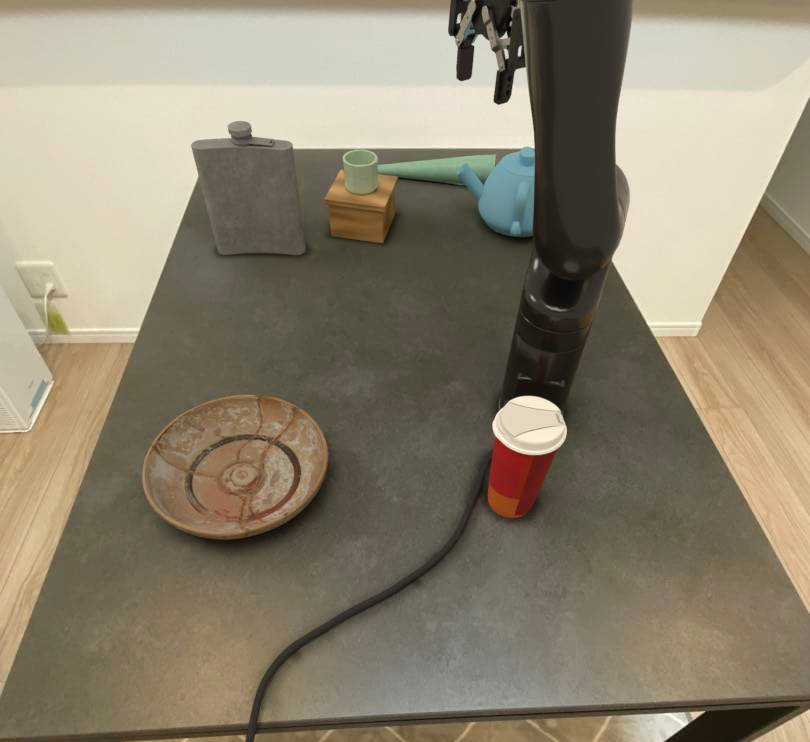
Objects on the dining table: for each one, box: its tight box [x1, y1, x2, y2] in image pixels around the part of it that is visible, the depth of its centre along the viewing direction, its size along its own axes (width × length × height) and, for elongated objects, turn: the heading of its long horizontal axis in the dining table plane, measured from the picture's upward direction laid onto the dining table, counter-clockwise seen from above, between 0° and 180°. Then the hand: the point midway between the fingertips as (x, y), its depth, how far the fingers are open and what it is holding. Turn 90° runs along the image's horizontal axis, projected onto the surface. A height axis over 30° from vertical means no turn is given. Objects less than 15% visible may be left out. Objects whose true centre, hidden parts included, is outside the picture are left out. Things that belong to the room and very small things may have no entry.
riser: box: [323, 168, 399, 244], centre depth 111 cm, size 11×11×7 cm
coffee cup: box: [487, 396, 568, 519], centre depth 73 cm, size 8×8×15 cm
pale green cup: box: [342, 149, 379, 195], centre depth 106 cm, size 6×6×5 cm
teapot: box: [456, 146, 535, 238], centre depth 111 cm, size 20×20×13 cm
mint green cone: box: [378, 153, 497, 187], centre depth 122 cm, size 5×6×27 cm
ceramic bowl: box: [141, 394, 329, 540], centre depth 78 cm, size 23×24×5 cm
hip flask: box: [190, 120, 307, 256], centre depth 101 cm, size 16×4×20 cm, turn 91°
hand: (482, 90), depth 82 cm, fingers open, 8 cm apart
